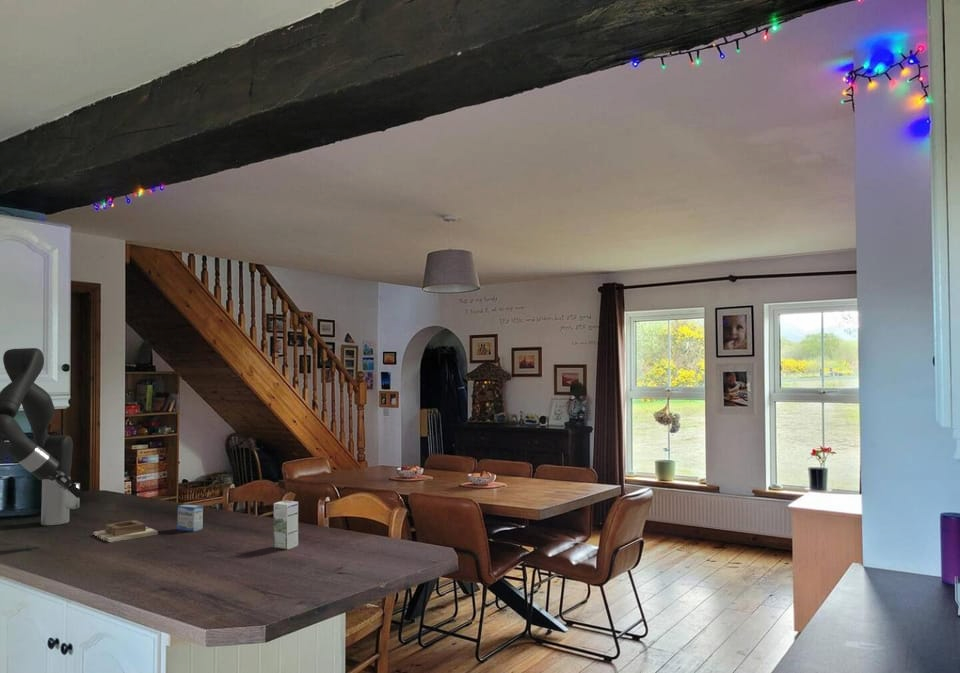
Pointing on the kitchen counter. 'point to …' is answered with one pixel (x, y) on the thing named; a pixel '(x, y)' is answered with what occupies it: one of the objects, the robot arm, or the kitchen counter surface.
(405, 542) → the kitchen counter surface
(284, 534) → the syrup box
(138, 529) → the wooden socket base
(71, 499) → the grey cylinder
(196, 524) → the medicine box
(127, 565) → the kitchen counter surface
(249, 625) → the kitchen counter surface
